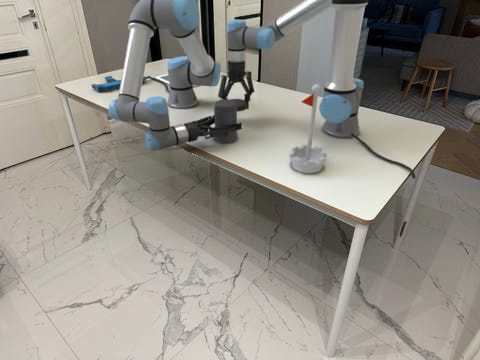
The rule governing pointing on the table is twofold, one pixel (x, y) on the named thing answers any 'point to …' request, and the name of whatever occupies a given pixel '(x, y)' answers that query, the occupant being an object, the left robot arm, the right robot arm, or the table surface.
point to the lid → (240, 104)
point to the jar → (225, 118)
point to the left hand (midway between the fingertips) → (235, 121)
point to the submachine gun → (111, 84)
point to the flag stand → (309, 143)
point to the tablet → (166, 79)
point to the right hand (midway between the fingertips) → (236, 110)
